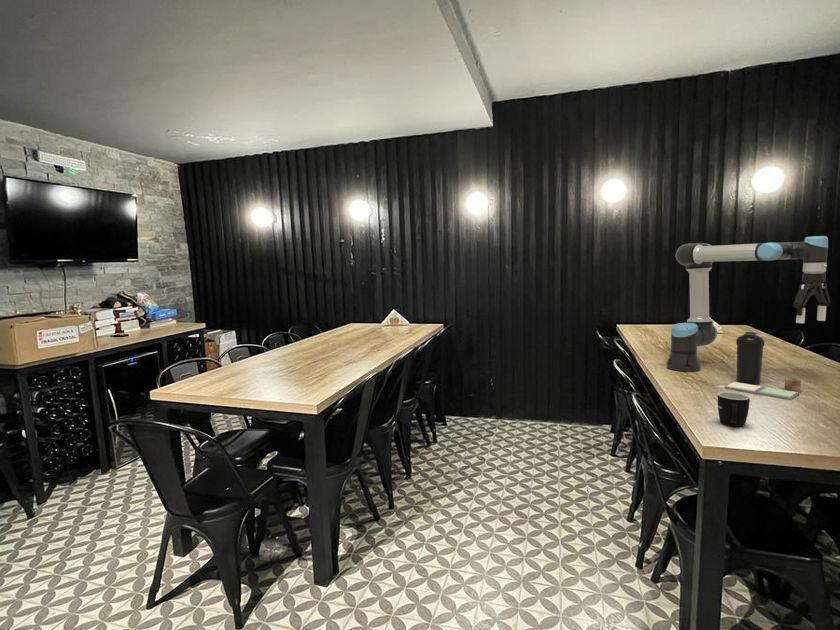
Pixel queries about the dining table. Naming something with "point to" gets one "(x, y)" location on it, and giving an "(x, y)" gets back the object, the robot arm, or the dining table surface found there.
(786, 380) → the walnut block
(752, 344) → the black travel mug
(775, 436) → the dining table surface
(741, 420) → the mug
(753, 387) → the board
